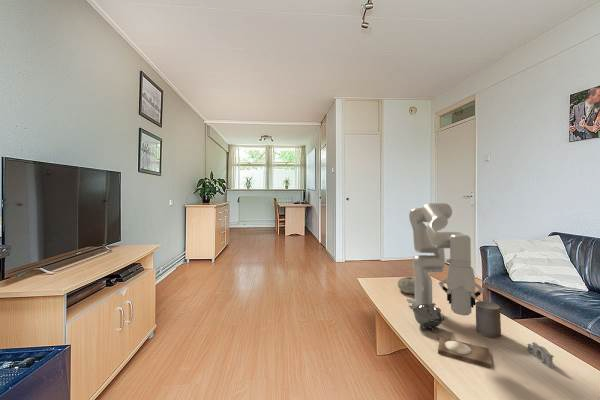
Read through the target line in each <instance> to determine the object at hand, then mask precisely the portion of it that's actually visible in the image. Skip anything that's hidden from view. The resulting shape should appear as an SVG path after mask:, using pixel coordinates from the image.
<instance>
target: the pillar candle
mask: <svg viewBox="0 0 600 400" xmlns="http://www.w3.org/2000/svg"><path fill="white" fill-rule="evenodd" d="M501 323H502V321H501V307H500V305H499V304H497V303H495V302H491V301H487V300H486V301H485V300H478V301H475V326H476V327H475V330H476V332H477V333H478V334H480V335H482V336H485V337H487V338H492V339H499V338H500V337H502V327H501V326H502V325H501Z"/></svg>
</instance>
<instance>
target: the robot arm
mask: <svg viewBox="0 0 600 400" xmlns="http://www.w3.org/2000/svg"><path fill="white" fill-rule="evenodd" d="M408 215H409V216H408V217H409V222H410V225H411V228H412V232H413V234H412V235H413V246H414V251H415V252H416V253H420V255H419V254H418V255H416V256H413V258H412V261H411V263H412V268H413V276H414V287H415V294H414V298H409V297H408V298H406V302H408V304H411V307H412V309H413V308H415V307H416V306H417V305H419V304H431V303H433V279H432V277H431V276H430V275H429V274H428V273H441V272H444V271H445V269H446V263H448V266H447V271H446V272H447V273H446V278H444V279H443V280H441V281H439V283H438V284H439V286H440V287H441V289H442V290H443V291H444V292H445V293H446V301H448V304H449V305H451V290H454V289H456V288H458V287H464V289H465V290H467V291H468V292H469V293H471V309H472V308H473V309H474V306H476V304H475V303H476V299H477V298H478V297H479V296H481V294H482V293H484V291H485V288H484V287H482V286H481V285H480V284H479V283H477V282H476V280H475V279H476V277H475V276H476V275H475V270H474V268H473V267H472V258H471V257H472V252H471V251H472V247H471V246H472V245H471V237H470V235H468V234H463V233H462V232H459V231H441V230H443V229H445V228H446V227H447V225H448V223H449V221H448V220H449V219H451V217H452V215H453V209H452V206H450V204H448V203H445V202H437V203H436V202H430V203H426V204H424V205H423V206H422V207H415V208H413V209H411V210H410V211H409V214H408ZM425 223H428V224H427V225H426V224H425ZM445 249H449V254H450V255H449V259H446V258H445ZM422 254H423V255H422ZM425 254H426V255H425ZM428 254H429V255H428ZM431 254H433V255H431ZM445 284H446V286H445ZM457 286H458V287H457ZM476 288H477V289H478V290H477V291H476Z"/></svg>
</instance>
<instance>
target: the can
mask: <svg viewBox="0 0 600 400" xmlns="http://www.w3.org/2000/svg"><path fill="white" fill-rule="evenodd" d="M457 287H458V286H457ZM450 293H451V304H450V310H451V311H452V312H453V313H454V314H457V315H459V316H469V315H471V314H472V307H471V296H472V295H471V293H469V292H468V291H467V290H465V289H464V287H458V288H456V289H454V290H451V292H450Z"/></svg>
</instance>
